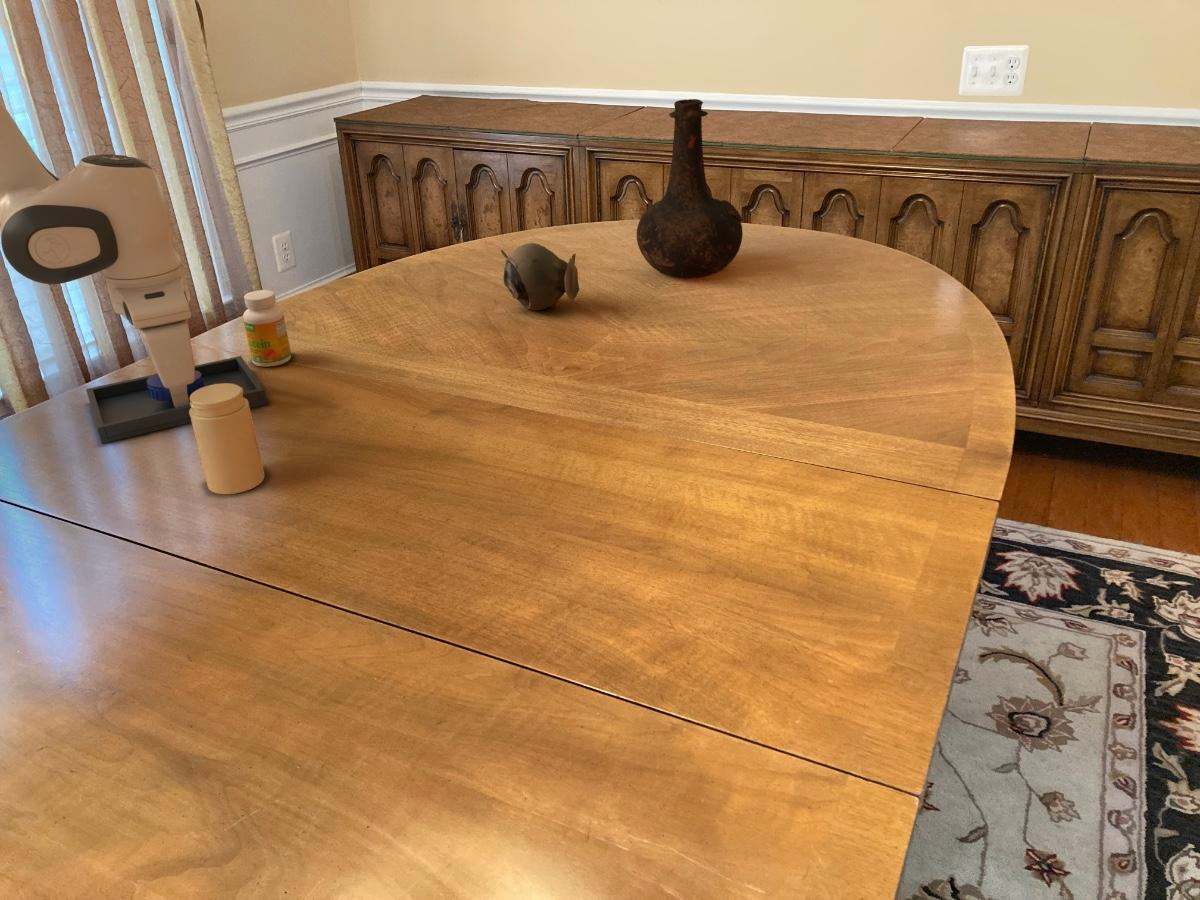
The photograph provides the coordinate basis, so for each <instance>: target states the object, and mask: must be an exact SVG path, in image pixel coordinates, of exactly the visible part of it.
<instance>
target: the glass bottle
mask: <svg viewBox="0 0 1200 900" xmlns="http://www.w3.org/2000/svg"><path fill="white" fill-rule="evenodd" d="M703 104H704V101H702V100H701V99H698V98H690V99H680V100H676V101H675V102H674V104H673V105H674V111H672V112H670V113H669V114H668V116H669V118H672V119H674V123H673V124H674V128H673V129H674V130H673V142H672V152H671V163H670V169H669V177H668V183H667V188H666V191H665V194H664V196H663V197H662V198H661V199H660V200H658V201H656V202H655V203H653V204H651V206H649V207H648V208H647V209H646V210H645V211H644V213H643V214H642V215H641V217H640V219H639V221H638V223H637V227H636V242H637V246H638V249H639V251H640V253H641V255H642V256H643V258H644V260H645V261H646V262H647V263H648V264H649V266H651V267H652V268H653V269H654V270H656V271H658V272H659V273H661V274H663V275H666V276H669V277H671V278H678V279H701V278H706V277H710V276H713V275H715V274H717V273H719V272H721V271H723V270H724V269H725V268H727V267H728V266H729V265H730V264H731V263H732V262H733V260H734V259H735V258H736V257H737V255H738V253H739V251H740V248H741V244H742V241H743V225H742V222H743V217H742V216H741V214H740V213H739V211H738V210H737V209H736V207H735V206H734V205H733V204H732V203H731V202H730V201H728V200H725V199H723V200H720V199H718V198H714V197H712V195H711V194H710V192H709V188H708V183H707V177H706V172H705V170H706V169H705V161H704V150H703V149H704V148H703V127H702V125H703V122H702V121H703V119H702V118H703V117H707V116H708V114H709V113H708V112H707V111H705V110H702V107H703Z"/></svg>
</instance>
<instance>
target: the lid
mask: <svg viewBox="0 0 1200 900" xmlns="http://www.w3.org/2000/svg"><path fill="white" fill-rule="evenodd" d="M151 375H152V376H150V377H149V378H148V379H147V389H148V394H149V396H150V397H151V398H152V399H154V400H158V401H172V398H171V394H170V390H169V388H165V387H164V386H163V384H162V382H161V380H160V378H159V375H158V373H157V372H156V373H154V374H151ZM203 387H204V383H203V378H202V376H201V373H200V372H199V371H196V370H195V380H194V382H193V383H191V384H187V395H188V398H190V395H191V394H192V393H193V392H194V391H196V390H198V389H200V388H203Z"/></svg>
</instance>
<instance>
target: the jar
mask: <svg viewBox="0 0 1200 900" xmlns="http://www.w3.org/2000/svg"><path fill="white" fill-rule="evenodd" d="M190 406H191V409H190V410H189V415H190V419H191V426H192V430H193V434H194V438H195V442H196V447H197V450H198V454H199V458H200V462H201V465H202V470H203V472H204V474H203V475H204V477H205V481H206V485H207V488H208V490H209V491H211V492H212V493H214V494H218V495H234V494H241V493H243V492H246V491H250V490H251V489H254V488H255V487H257V486H259V485H260V484H261V483H262V482H263V481H264V479H265V471H264V466H263V461H262V457H261V453H260V452H261V451H260V448H259V444H258V439H257V434H256V429H255V426H254V421H253V416H252V412H251V408H250V407H249V402H248V400H247V399H246V398H244V397H243V389H242V387H240V386H238V385H235V384H229V383H222V384H214V385H209V386H206V387H203V388H200V389H198V390H196V391H194V392H193V393H192V394H191V395H190Z"/></svg>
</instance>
